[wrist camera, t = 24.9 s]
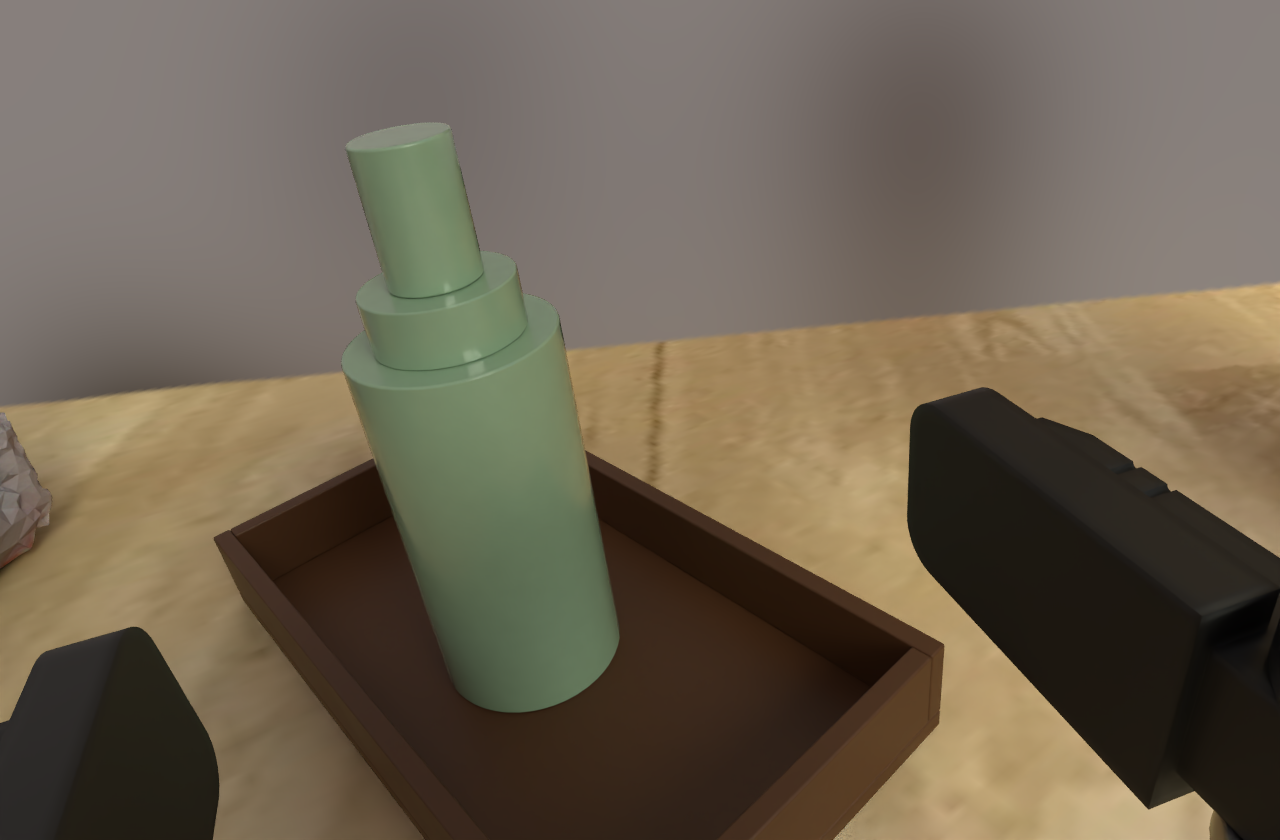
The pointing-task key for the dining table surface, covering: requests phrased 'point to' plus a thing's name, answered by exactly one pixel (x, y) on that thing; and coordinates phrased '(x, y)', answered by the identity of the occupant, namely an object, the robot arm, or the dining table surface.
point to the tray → (602, 679)
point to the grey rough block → (18, 497)
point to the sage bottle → (476, 436)
